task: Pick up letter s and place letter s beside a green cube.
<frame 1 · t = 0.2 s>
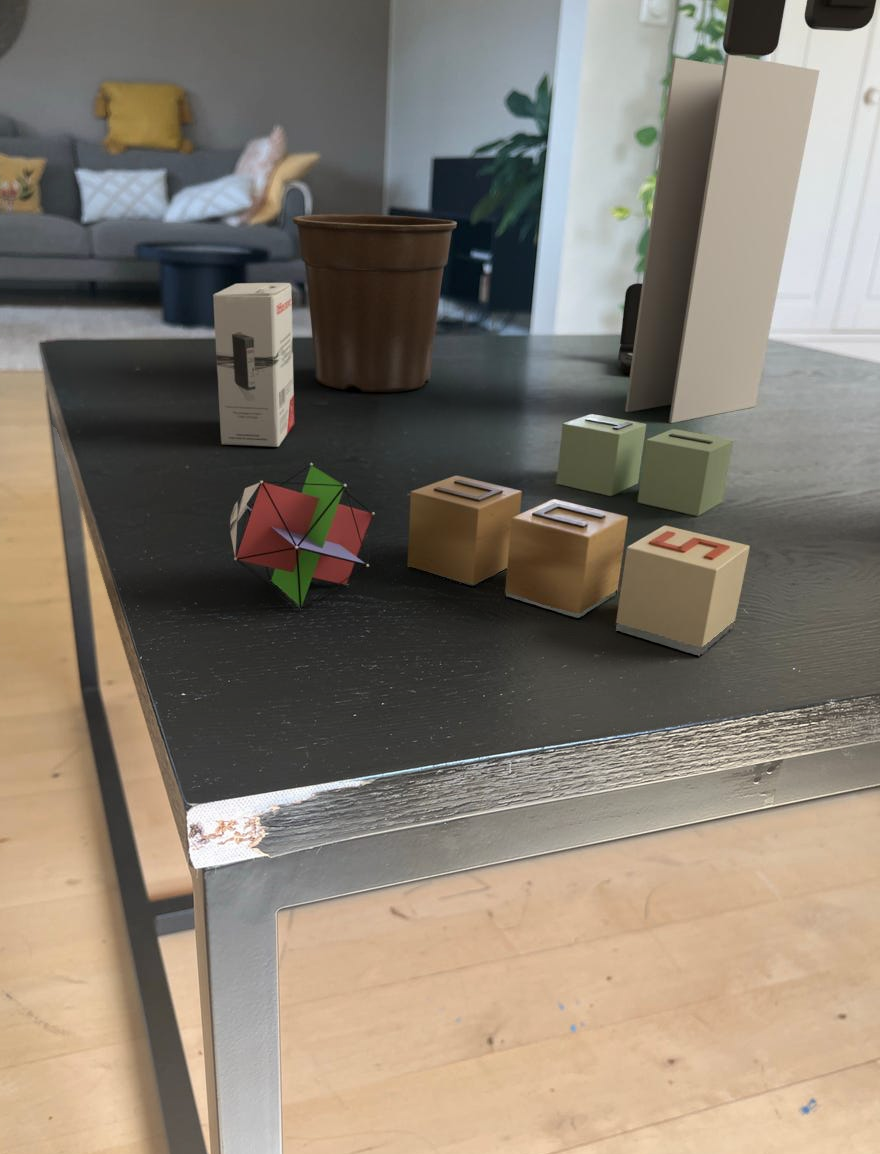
hand: (787, 43, 39), 26 cm above the table, tool pointing down, fingers open, 8 cm apart
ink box: (258, 436, 83), on the table
brochure: (691, 411, 99), on the table
game console: (682, 372, 119), on the table
green cube: (597, 483, 73), on the table
letter u: (561, 596, 53), on the table
plant pot: (371, 384, 105), on the table
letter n: (461, 566, 57), on the table
letter s: (674, 629, 50), on the table
geometric puzzle: (306, 596, 53), on the table
letter i: (679, 502, 70), on the table
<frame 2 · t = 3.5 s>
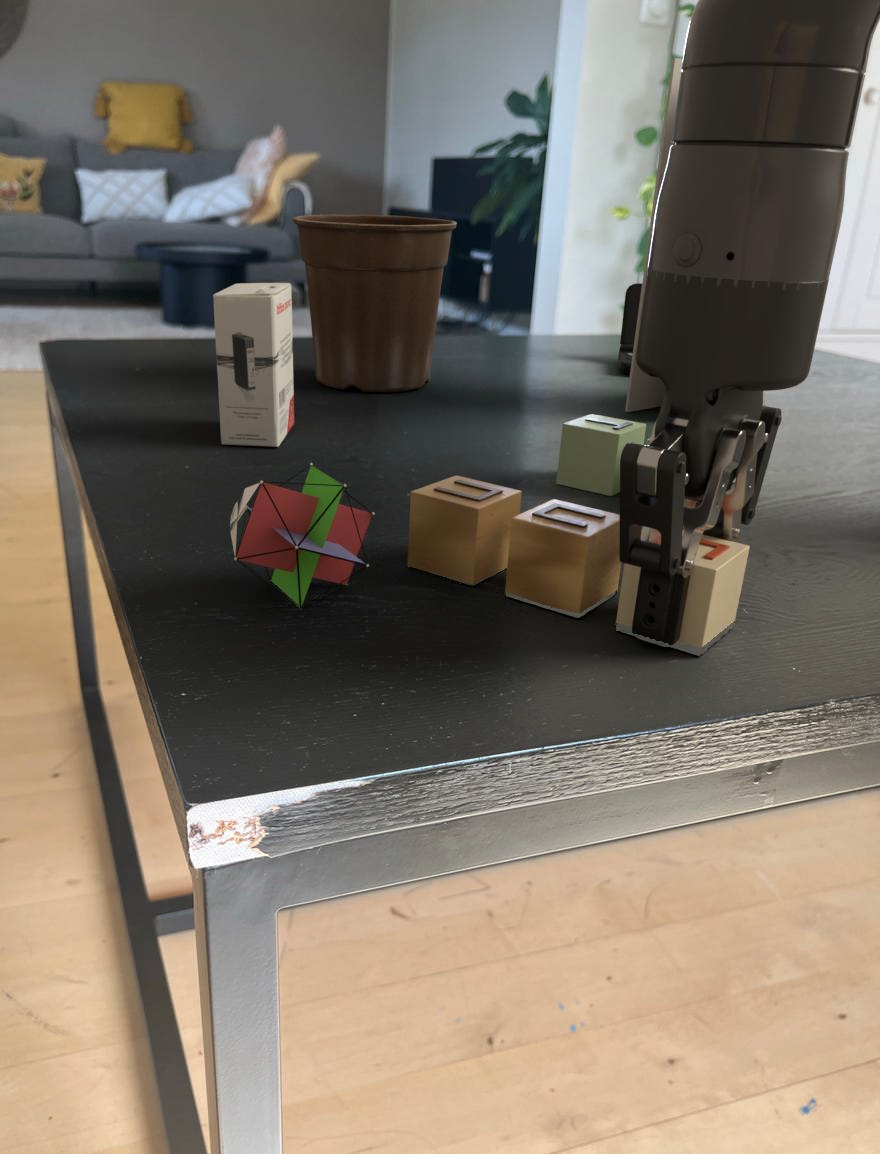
hand: (675, 623, 50), 0 cm above the table, tool pointing down, fingers closed on letter s, 4 cm apart
letter s: (674, 630, 50), on the table, touching gripper
everything else where it was.
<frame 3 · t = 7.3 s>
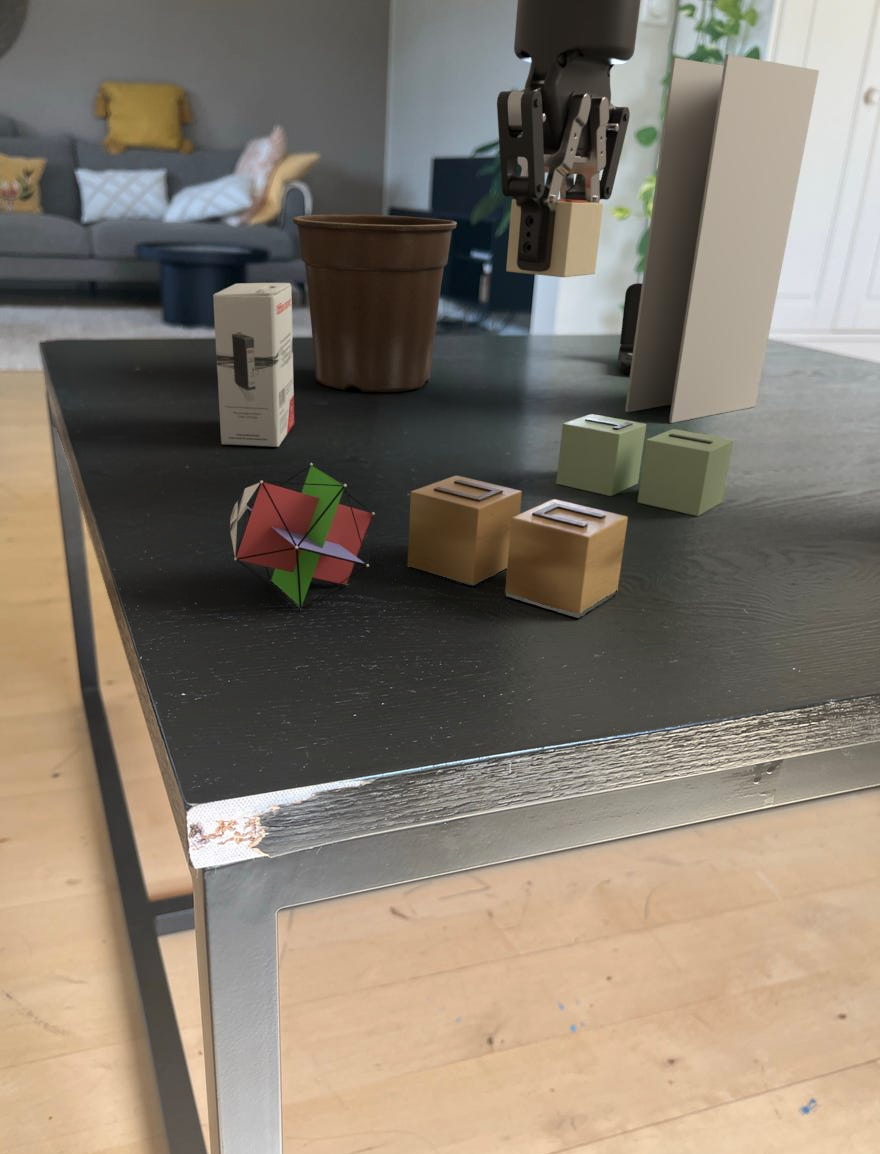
hand: (552, 267, 68), 15 cm above the table, tool pointing down, fingers closed on letter s, 4 cm apart
letter s: (550, 272, 68), point 15 cm above the table, touching gripper
everything else where it was.
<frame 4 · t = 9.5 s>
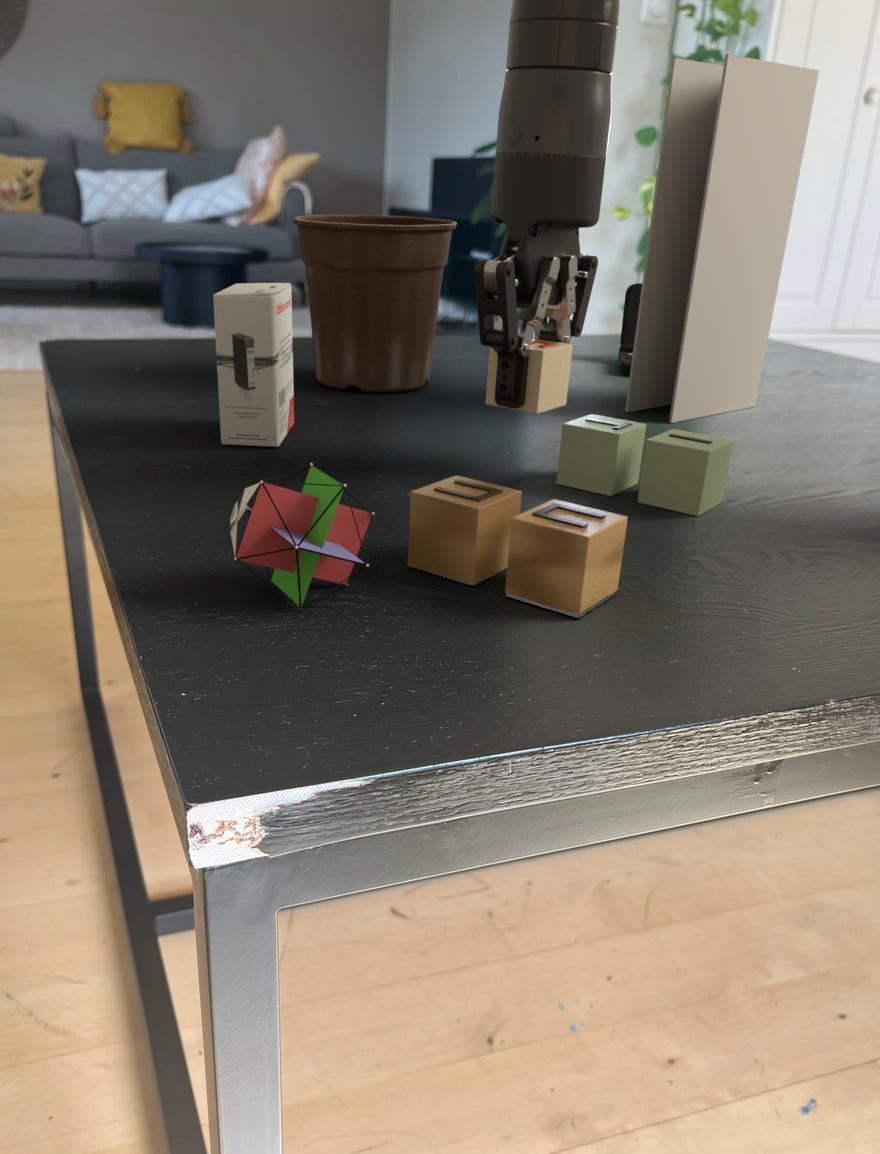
hand: (527, 400, 75), 5 cm above the table, tool pointing down, fingers closed on letter s, 4 cm apart
letter s: (525, 404, 75), point 5 cm above the table, touching gripper
everything else where it was.
when the fingers open (0 cm above the table, at t = 11.1 s): letter s stays where it is, on the table.
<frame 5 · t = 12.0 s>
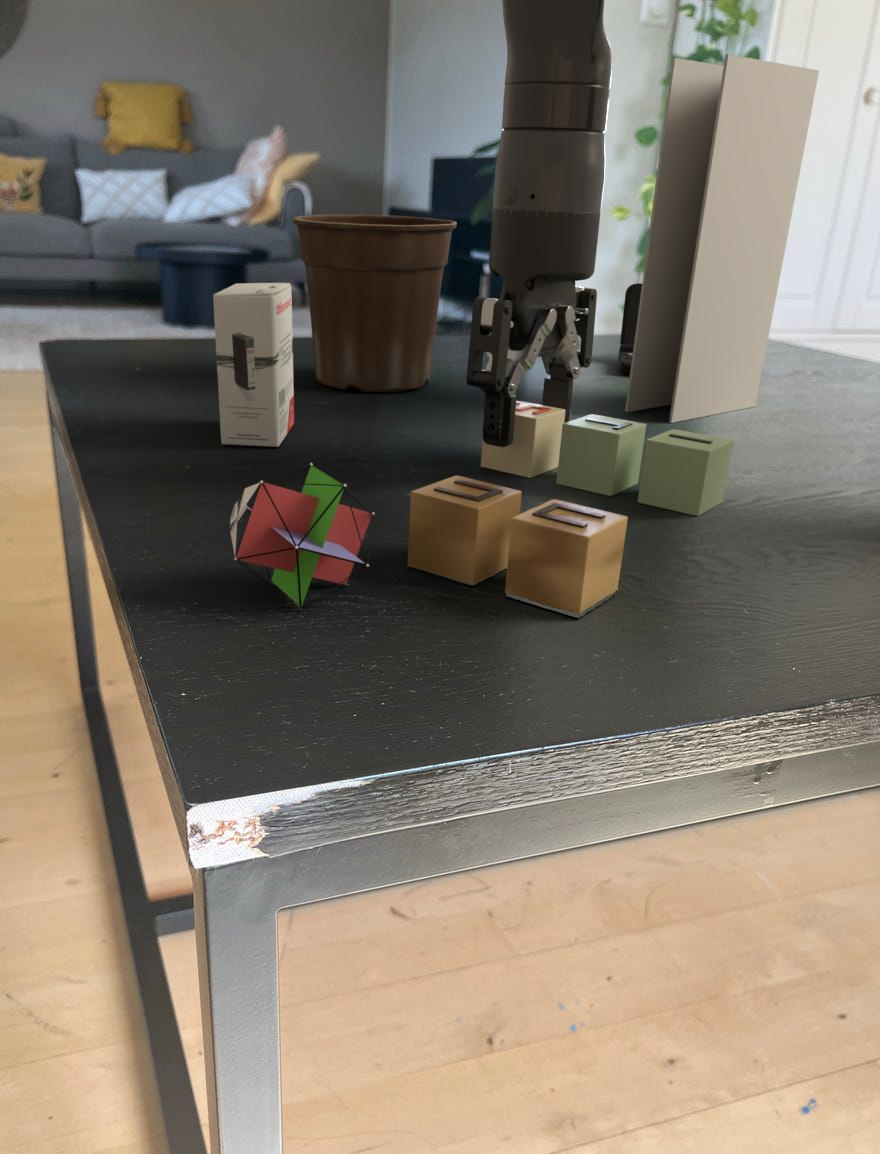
hand: (527, 435, 76), 2 cm above the table, tool pointing down, fingers open, 8 cm apart
letter s: (520, 466, 77), on the table
everything else where it was.
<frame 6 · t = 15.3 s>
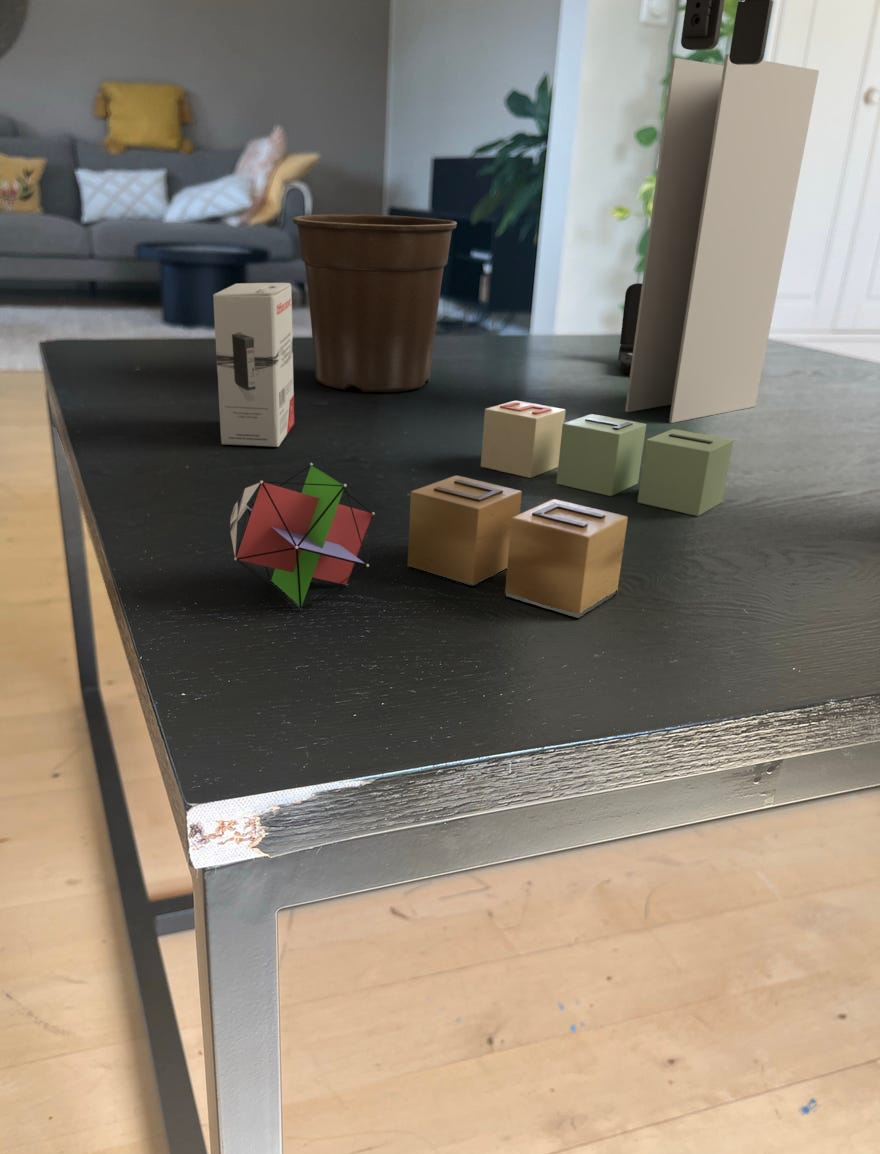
hand: (723, 57, 65), 28 cm above the table, tool pointing down, fingers open, 8 cm apart
nothing on the table moved.
at the end: letter s 0.1 cm from the target spot on the table beside the green cube, on the table; letter s tilted 0°; the gripper is holding nothing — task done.
